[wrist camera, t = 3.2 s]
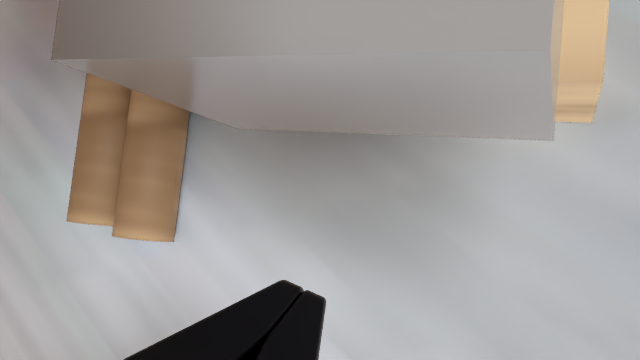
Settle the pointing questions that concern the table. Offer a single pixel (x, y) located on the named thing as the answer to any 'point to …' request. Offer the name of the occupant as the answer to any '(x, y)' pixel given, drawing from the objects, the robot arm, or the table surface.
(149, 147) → the roller
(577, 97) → the tan wooden block
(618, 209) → the table surface
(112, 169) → the roller
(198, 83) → the grey rectangular block
